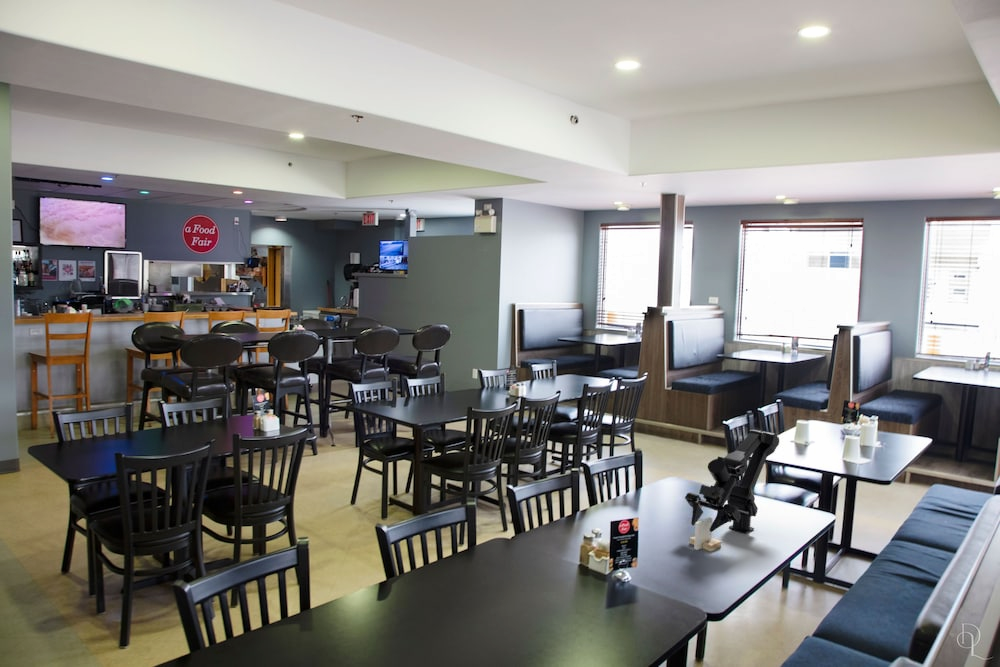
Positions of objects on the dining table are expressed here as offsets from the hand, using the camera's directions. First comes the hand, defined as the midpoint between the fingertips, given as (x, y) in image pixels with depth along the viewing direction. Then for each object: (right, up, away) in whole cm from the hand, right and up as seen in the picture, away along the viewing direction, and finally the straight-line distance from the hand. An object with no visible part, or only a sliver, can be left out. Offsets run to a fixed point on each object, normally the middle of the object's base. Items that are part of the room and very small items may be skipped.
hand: (701, 527), depth 227 cm
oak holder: (+2, -6, +2) cm, 7 cm away
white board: (+1, -7, +1) cm, 7 cm away
